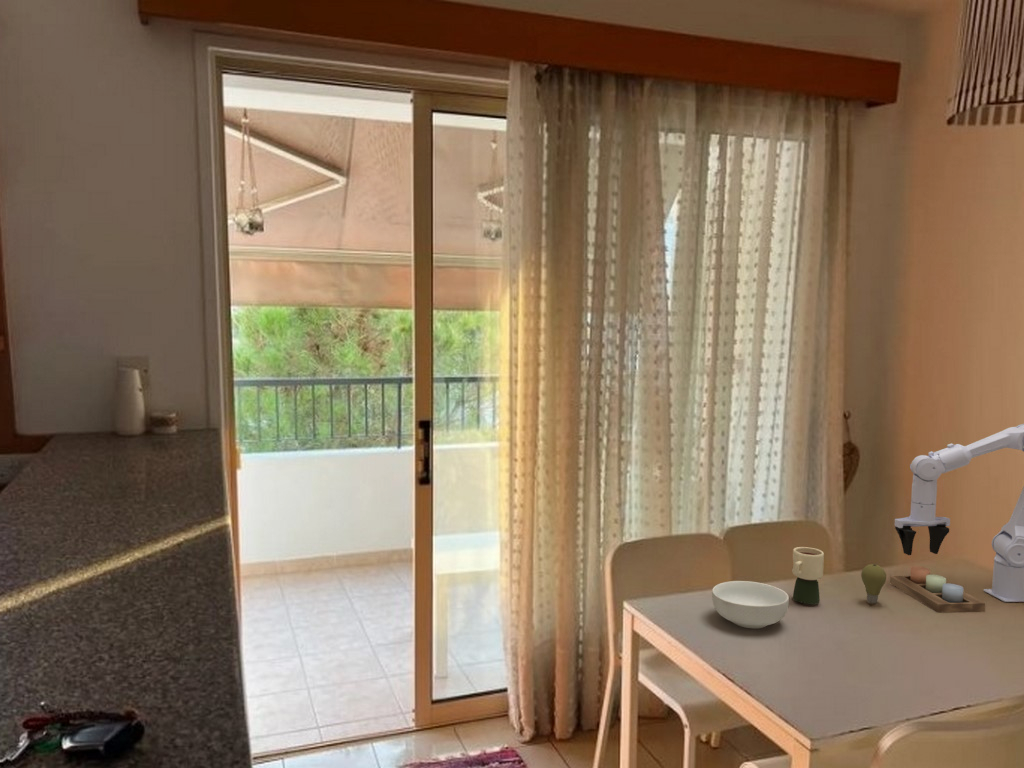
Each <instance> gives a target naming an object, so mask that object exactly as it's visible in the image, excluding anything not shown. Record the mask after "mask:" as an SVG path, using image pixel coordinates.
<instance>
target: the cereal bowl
mask: <svg viewBox="0 0 1024 768" xmlns="http://www.w3.org/2000/svg"><path fill="white" fill-rule="evenodd" d="M711 594H712V595H711V596H712V597H711V599H712V604H713V606H714V609H715V611H716V612H717V613H718V614H719V615H720V616H721V617H723V618H724V619H725V620H727V621H729V622H732V623H733V625H737V626H739V627H742V628H746V629H763V628H766V627H767V626H770V625H773V624H776V623H778V622H779V621H781V620H782V619H784V617H785V616H786V614H787V612H788V608H789V605H790V604H789V602H790V599H789V595H788V593H787V592H786V591H784V589H781V588H778V587H776V586H774V585H772V584H771V585H770V584H766V583H762V582H759V581H758V582H757V581H751V580H749V581H747V580H732V581H724V582H721V583H718V584H716V585H715V586H713V588H712V590H711Z"/></svg>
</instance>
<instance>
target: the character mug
mask: <svg viewBox="0 0 1024 768" xmlns="http://www.w3.org/2000/svg"><path fill="white" fill-rule="evenodd" d="M824 553H825V552H824V551H823V550H821V549H819V548H814V547H806V546H799V547H798V546H797V547H794V548H793V549H792V562H793V565H792V569H791V570H792V571H791V572H792V574H793V575H794V576H795V577H796V580H795V583H794V588H793V593H792V600H793V601H794V602H799V603H801V604H802V605H803V604H809V605H817V604H820V598H821V597H820V587H819V580H821V579H823V576H824V564H825V563H824V560H825V558H824V557H825V554H824Z"/></svg>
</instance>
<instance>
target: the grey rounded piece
mask: <svg viewBox="0 0 1024 768" xmlns="http://www.w3.org/2000/svg"><path fill="white" fill-rule="evenodd" d="M963 592H964V587H963V586H962V585H960V584H956V583H950V582H949V583H948V582H947V583H946V584H943V589H942V599H943V600H945V601H947V602H948V603H962V602H963Z"/></svg>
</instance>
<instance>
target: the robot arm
mask: <svg viewBox="0 0 1024 768" xmlns="http://www.w3.org/2000/svg"><path fill="white" fill-rule="evenodd" d="M946 446H947V447H945V448H943V449H940V450H937V451H928V453H927V454H928V455H926V454H921V455H917V456H916V457H914V459H913V460H912V461H911V463H910V464H909V467H910V471H911V472H912V484H911V493H910V495H911V496H910V497H911V499H910V514H909V516H906V517H901V518H894V526H895V528H894V529H895V531H896V533H897V534H898V536H899V539H900V542H901V545H902V550H903V554H905V555H907V556H911V555H913V554H912V553H913V545H914V539H915V537H916V534H917V531H916V530H915V529H913V528H914V527H915V528H917V527H927V529H928V533H929V535H928V536H929V552H930V553H932V554H934V555H938V553H939V551H940V549H941V545H942V543H943V541H944V539H945V538H946V536H947V535H948V534H949V533H950V528H949V527H950V526H951V518H949V517H946V516H936V515H937V514H936V511H937V497H938V496H937V493H938V479H939V478H940V476H942V474H946V473H949V472H952V471H955V470H957V469H961V468H963V467H966V466H968V465H969V464H970V463H971V460H973V458H977V457H979V456H982V455H986V454H989V453H992V452H997V451H998V450H1002V449H1012V450H1013V449H1014V450H1020V451H1022V452H1023V453H1024V423H1022V424H1018V425H1017V426H1011V427H1007V428H1005V429H1003V430H1001V431H998V432H996V433H994V434H991V435H989V436H986V437H984V438H981V439H979V440H977V441H974V442H972V443H970V444H967V445H962V444H960V443H956V444H954V443H949V444H947V445H946ZM912 527H913V528H912ZM991 548H992V549H993V551H994V552H995V556H994V557H993V558H994V559H993V568H992V569H993V570H992V581H991V582H992V583H991V585H992V586H991V588H984V589H983V592H984V593H987V594H989V595H991V596H992V597H994V598H996V599H998V600H999V601H1002V602H1004V603H1007V602H1008V603H1015V602H1017V603H1018V602H1019V603H1020V602H1023V603H1024V486H1023V488H1022V490H1021V492H1020V494H1019V497H1018V499H1017V501H1016V504H1015V506H1014V509H1013V511H1012V513H1011V516H1010V518H1009V521H1008V522H1007V523H1005V524H1004V525H1003V526H1002V527H1001V528H1000V531H998V533H997V534H996V535H994V536H993V537H992V540H991Z"/></svg>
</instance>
